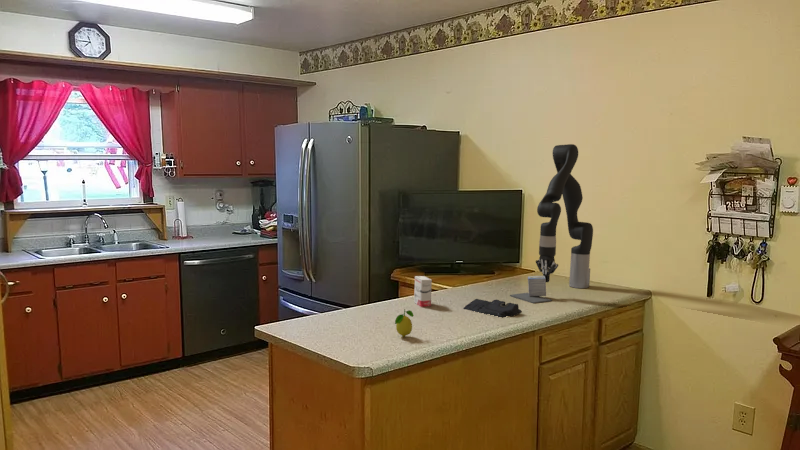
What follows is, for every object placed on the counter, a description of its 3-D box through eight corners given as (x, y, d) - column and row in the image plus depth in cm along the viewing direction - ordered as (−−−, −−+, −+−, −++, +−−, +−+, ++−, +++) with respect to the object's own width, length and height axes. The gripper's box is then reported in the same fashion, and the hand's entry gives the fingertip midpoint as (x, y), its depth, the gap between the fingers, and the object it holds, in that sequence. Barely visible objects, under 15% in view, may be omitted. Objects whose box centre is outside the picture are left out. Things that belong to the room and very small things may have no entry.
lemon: (413, 334, 204) (413, 306, 203) (414, 339, 199) (414, 311, 198) (394, 334, 204) (395, 306, 203) (394, 339, 198) (395, 310, 197)
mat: (527, 293, 275) (527, 292, 275) (551, 301, 261) (551, 299, 261) (509, 295, 269) (509, 294, 269) (533, 303, 256) (533, 302, 256)
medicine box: (545, 293, 269) (545, 275, 268) (546, 296, 265) (545, 278, 263) (528, 293, 271) (527, 276, 269) (528, 296, 266) (528, 278, 265)
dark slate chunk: (481, 303, 255) (481, 293, 254) (524, 313, 240) (525, 302, 239) (460, 309, 244) (460, 298, 243) (504, 320, 229) (505, 308, 228)
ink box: (431, 306, 246) (432, 279, 244) (420, 307, 244) (421, 279, 243) (423, 301, 254) (424, 275, 252) (413, 302, 252) (414, 276, 251)
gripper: (564, 246, 263) (562, 283, 265) (543, 242, 275) (541, 278, 277) (552, 247, 259) (550, 285, 261) (531, 243, 271) (530, 280, 273)
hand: (545, 281), depth 269 cm, fingers closed
